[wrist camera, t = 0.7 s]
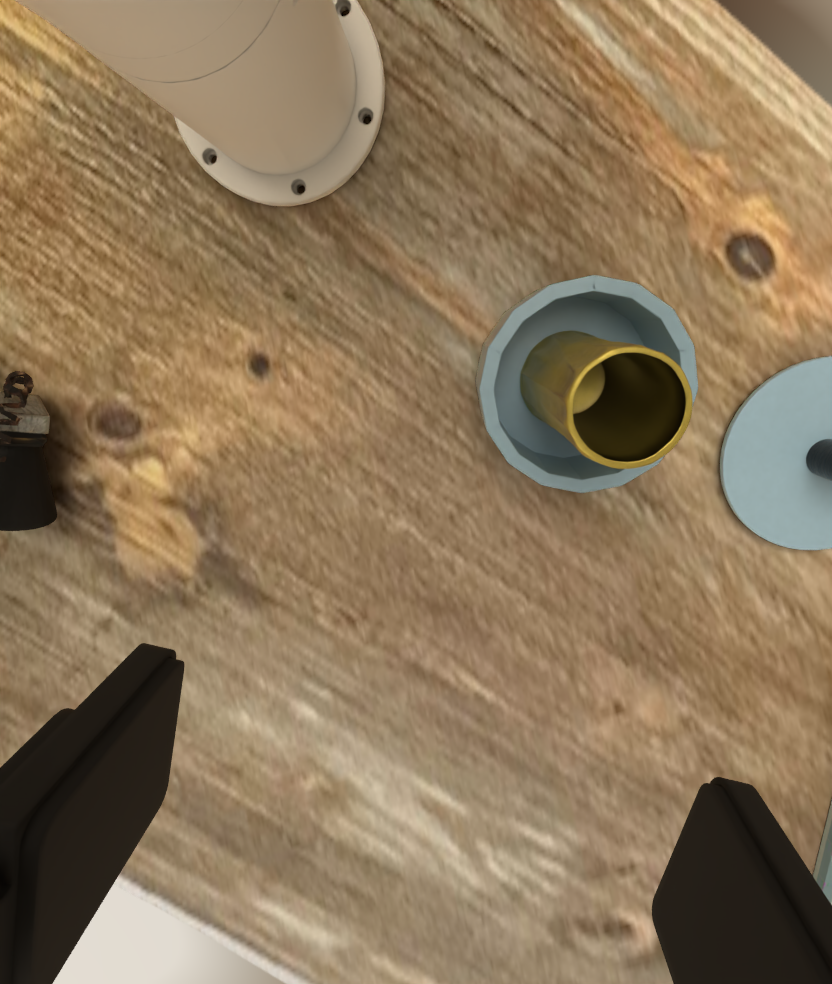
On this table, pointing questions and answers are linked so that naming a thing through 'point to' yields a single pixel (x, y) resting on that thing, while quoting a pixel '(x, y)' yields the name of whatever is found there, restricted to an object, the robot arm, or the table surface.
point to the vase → (608, 397)
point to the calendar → (825, 860)
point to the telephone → (23, 458)
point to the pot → (558, 308)
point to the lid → (784, 458)
